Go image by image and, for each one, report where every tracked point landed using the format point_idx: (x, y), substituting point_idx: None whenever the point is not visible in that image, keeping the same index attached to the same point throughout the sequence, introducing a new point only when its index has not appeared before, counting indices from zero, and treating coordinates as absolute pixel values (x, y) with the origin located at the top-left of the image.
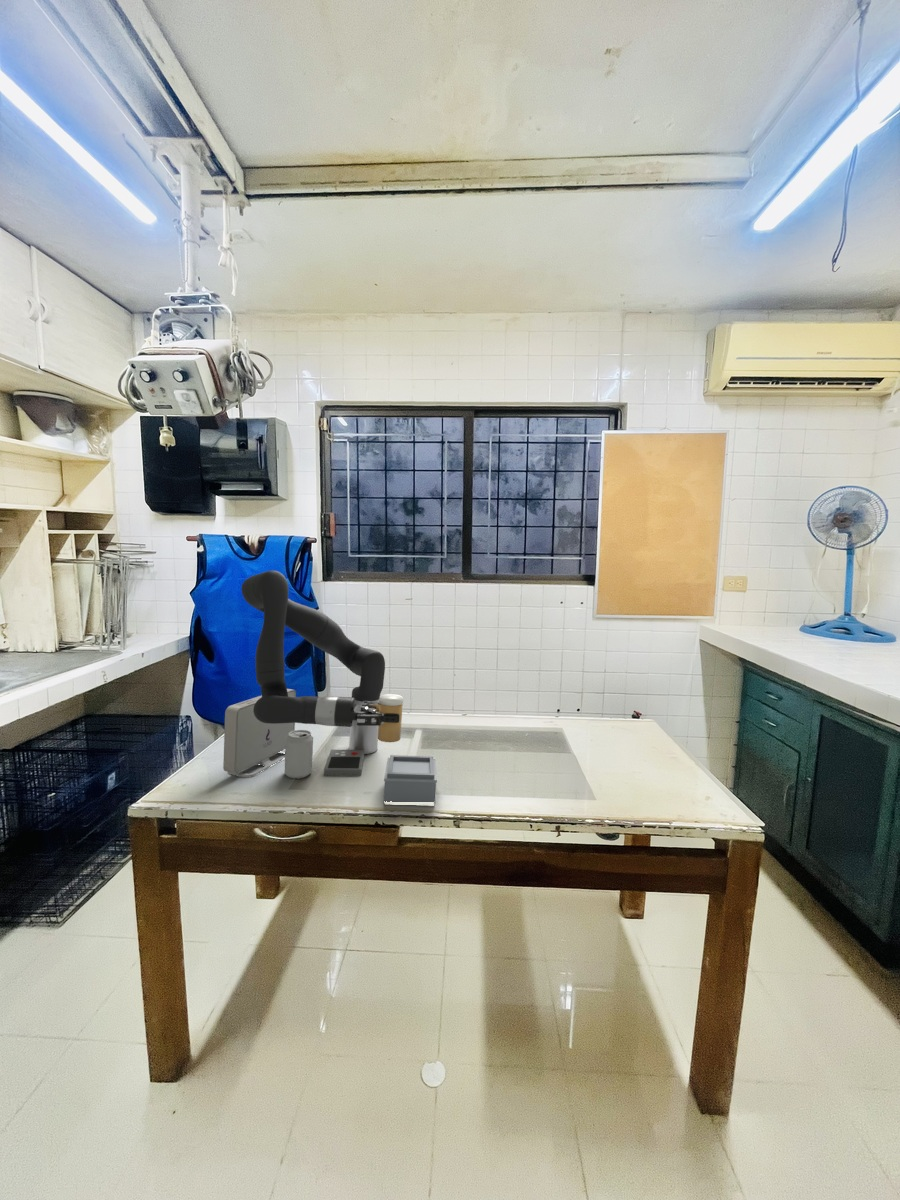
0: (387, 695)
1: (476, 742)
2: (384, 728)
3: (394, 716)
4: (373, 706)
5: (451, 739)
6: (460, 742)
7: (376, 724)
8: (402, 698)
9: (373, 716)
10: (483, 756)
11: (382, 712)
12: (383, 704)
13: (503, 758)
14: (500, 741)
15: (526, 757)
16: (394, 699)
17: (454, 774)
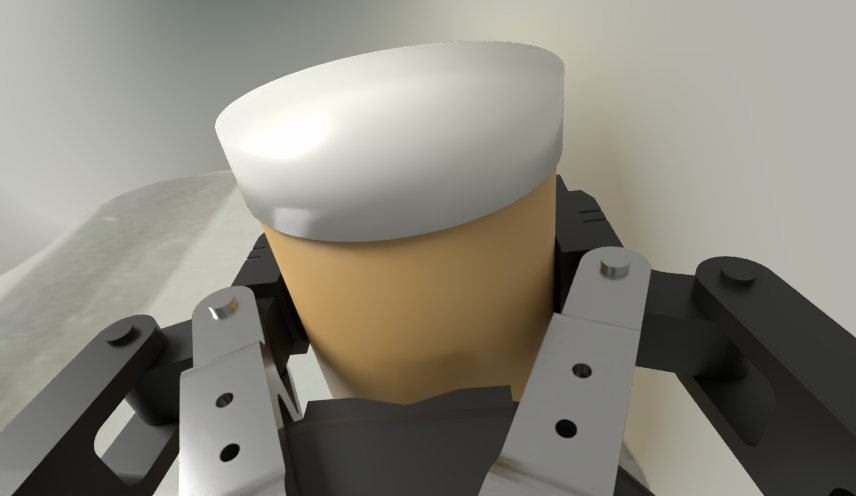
0: (297, 114)
1: (91, 304)
2: None
3: (591, 201)
4: (282, 423)
5: (15, 369)
6: (61, 343)
7: (760, 377)
8: (432, 43)
9: (842, 331)
10: (202, 287)
11: (532, 285)
12: (546, 174)
13: (232, 252)
14: (120, 258)
15: (242, 219)
16: (497, 54)
17: (308, 348)
